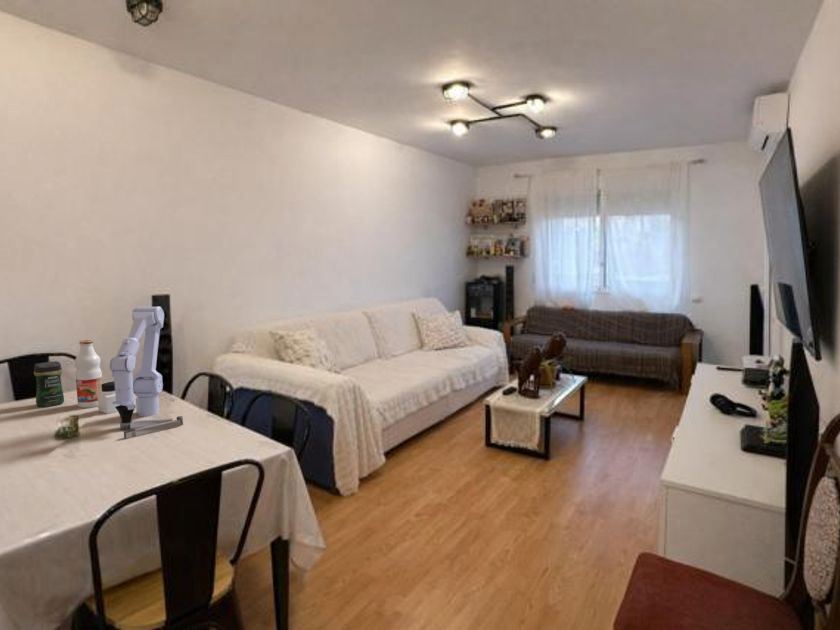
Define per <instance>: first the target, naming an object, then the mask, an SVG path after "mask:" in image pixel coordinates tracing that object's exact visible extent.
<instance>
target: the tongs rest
mask: <svg viewBox="0 0 840 630" xmlns="http://www.w3.org/2000/svg"><path fill="white" fill-rule="evenodd" d="M183 425H184V420H183V416H182V415H179V416H177V417H176V420H174V419H173V421H170V422H165V423H161V424H156V425H152V426H147V427H143V428H138V429H128V430H126V431H125V430H124V431H123V437H124V439H126V440H127V439H131V438H134V437H140V436H144V435H148V434H153V433H156V432H161V431H166V430H169V429H174V428H179V427H181V426H183Z"/></svg>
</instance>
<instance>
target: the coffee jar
mask: <svg viewBox="0 0 840 630" xmlns="http://www.w3.org/2000/svg"><path fill="white" fill-rule="evenodd" d="M62 372H63V368H62V363H61V362H59V361H55V360H54V361H46V362H40V363H35V364H34V368H33V375H34V377H35V378H36V379H35V381H36V395H35V405H36V406H37V407H39V408H45V407H46V408H47V407H48V408H49V407H54V406H57V405H62V404H63V403H65V396H64V392H63V386H62V381H61V377H62V376H61V375H62Z"/></svg>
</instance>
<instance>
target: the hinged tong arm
mask: <svg viewBox="0 0 840 630" xmlns="http://www.w3.org/2000/svg"><path fill="white" fill-rule="evenodd" d="M170 421H174V419H173V417H170V418H159V419H158V418H157V419H148V420H147V419H146V420H145V419H144V420H134V421H132V420H131V422H122V421H121V422H120V423H119V424H120V431H125V430H126V431H129V430H134V429H138V428H143V427H147V426H152V425H156V424H161V423H165V422H170Z"/></svg>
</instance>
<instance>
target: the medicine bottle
mask: <svg viewBox="0 0 840 630" xmlns="http://www.w3.org/2000/svg"><path fill="white" fill-rule="evenodd" d="M101 387H102V394H98V406H97V408H98V411H99V412H101V413H104V414H106V415H109V414H112V413H116V412H118V411H117V409H116V408H115V407H116V406H120V405H118V404H115V405H113V404H112V402H114V401H116V396H115V382H114V380H113V381H112V380H111V381H105V382H103V384H102V385H101Z"/></svg>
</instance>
